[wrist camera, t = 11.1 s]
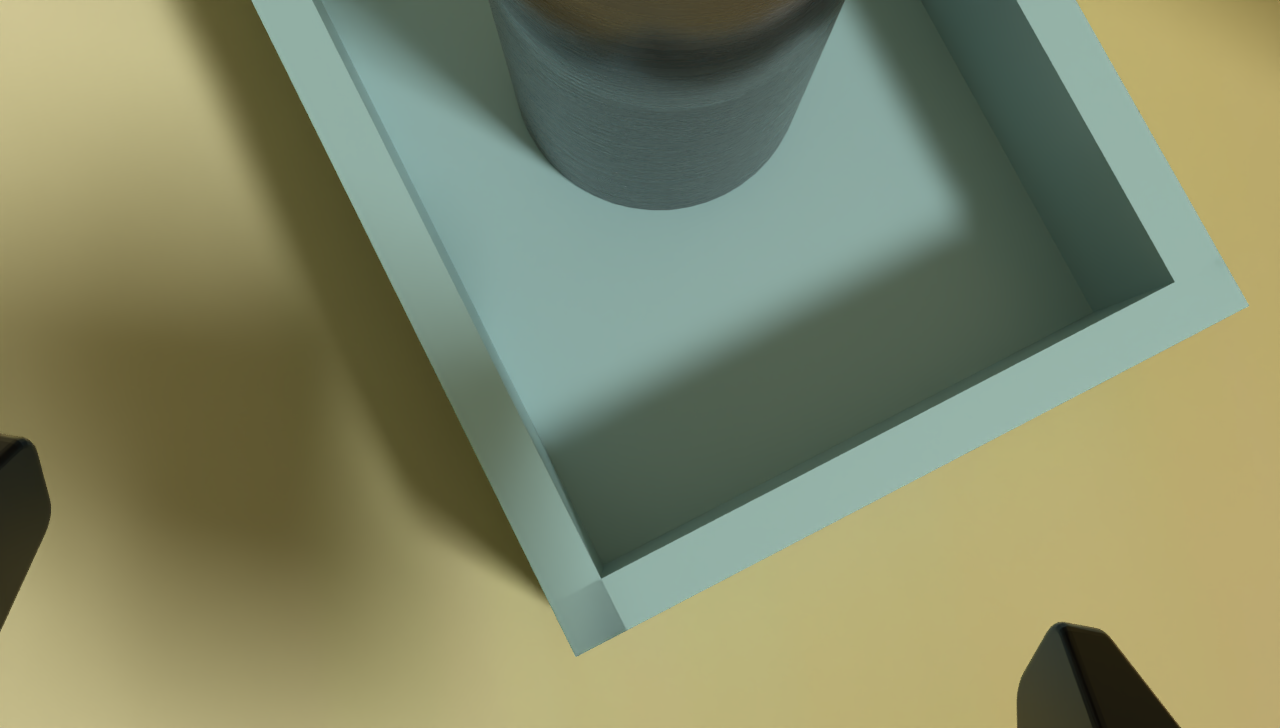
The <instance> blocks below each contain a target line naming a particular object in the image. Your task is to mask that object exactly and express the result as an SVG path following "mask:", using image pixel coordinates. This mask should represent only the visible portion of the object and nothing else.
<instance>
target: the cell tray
mask: <svg viewBox="0 0 1280 728" xmlns="http://www.w3.org/2000/svg"><path fill="white" fill-rule="evenodd" d="M251 1H252V3H253V5H254V7H255V9H256V11H257V13H258V15H259V17H260V19H261V21H262V23H263V25H264V27H265V29H266V31H267V33H268V35H269V37H270V39H271V41H272V43H273V45H274V47H275V49H276V51H277V53H278V55H279V57H280V59H281V61H282V63H283V65H284V67H285V69H286V71H287V73H288V75H289V77H290V79H291V81H292V84H293V86H294V88H295V90H296V92H297V94H298V96H299V98H300V100H301V102H302V104H303V106H304V108H305V110H306V112H307V114H308V116H309V118H310V120H311V122H312V124H313V126H314V128H315V130H316V132H317V134H318V136H319V138H320V140H321V142H322V144H323V146H324V148H325V150H326V152H327V154H328V156H329V158H330V160H331V162H332V164H333V167H334V169H335V171H336V173H337V175H338V177H339V179H340V181H341V183H342V185H343V187H344V189H345V191H346V193H347V195H348V197H349V199H350V201H351V203H352V205H353V207H354V209H355V211H356V213H357V215H358V217H359V219H360V221H361V223H362V225H363V227H364V229H365V231H366V233H367V235H368V237H369V239H370V241H371V243H372V245H373V247H374V249H375V252H376V254H377V256H378V258H379V260H380V262H381V264H382V266H383V268H384V270H385V272H386V274H387V276H388V278H389V280H390V282H391V284H392V286H393V288H394V290H395V292H396V294H397V296H398V298H399V300H400V302H401V304H402V306H403V308H404V310H405V312H406V314H407V316H408V318H409V320H410V322H411V324H412V326H413V328H414V330H415V332H416V334H417V337H418V339H419V341H420V343H421V345H422V347H423V349H424V351H425V353H426V355H427V357H428V359H429V361H430V363H431V365H432V367H433V369H434V371H435V373H436V375H437V377H438V379H439V381H440V383H441V385H442V387H443V389H444V391H445V393H446V395H447V397H448V399H449V401H450V403H451V405H452V407H453V409H454V411H455V413H456V415H457V417H458V420H459V422H460V424H461V426H462V428H463V430H464V432H465V434H466V436H467V438H468V440H469V442H470V444H471V446H472V448H473V450H474V452H475V454H476V456H477V458H478V460H479V462H480V464H481V466H482V468H483V470H484V472H485V474H486V476H487V478H488V480H489V482H490V484H491V486H492V488H493V490H494V492H495V494H496V496H497V498H498V500H499V502H500V505H501V507H502V509H503V511H504V513H505V515H506V517H507V519H508V521H509V523H510V525H511V527H512V529H513V531H514V533H515V535H516V537H517V539H518V541H519V543H520V545H521V547H522V549H523V551H524V553H525V555H526V557H527V559H528V561H529V563H530V565H531V567H532V569H533V571H534V573H535V575H536V577H537V579H538V581H539V583H540V585H541V587H542V590H543V592H544V594H545V596H546V598H547V600H548V602H549V604H550V606H551V608H552V610H553V612H554V614H555V616H556V618H557V620H558V622H559V624H560V626H561V628H562V630H563V632H564V634H565V636H566V638H567V640H568V642H569V644H570V646H571V648H572V650H573V652H574V654H575V656H576V657H577V656H579V655H580V654H582V653H584V652H586V651H588V650H590V649H592V648H594V647H596V646H598V645H600V644H602V643H603V642H605V641H607V640H609V639H611V638H613V637H615V636H617V635H619V634H621V633H623V632H625V631H626V630H628V629H630V628H632V627H634V626H636V625H638V624H640V623H642V622H644V621H646V620H648V619H649V618H651V617H653V616H655V615H657V614H659V613H661V612H663V611H665V610H667V609H669V608H671V607H672V606H674V605H676V604H678V603H680V602H682V601H684V600H686V599H688V598H690V597H692V596H694V595H696V594H697V593H699V592H701V591H703V590H705V589H707V588H709V587H711V586H713V585H715V584H717V583H719V582H720V581H722V580H724V579H726V578H728V577H730V576H732V575H734V574H736V573H738V572H740V571H742V570H743V569H745V568H747V567H749V566H751V565H753V564H755V563H757V562H759V561H761V560H763V559H765V558H766V557H768V556H770V555H772V554H774V553H776V552H778V551H780V550H782V549H784V548H786V547H788V546H789V545H791V544H793V543H795V542H797V541H799V540H801V539H803V538H805V537H807V536H809V535H811V534H813V533H814V532H816V531H818V530H820V529H822V528H824V527H826V526H828V525H830V524H832V523H834V522H836V521H837V520H839V519H841V518H843V517H845V516H847V515H849V514H851V513H853V512H855V511H857V510H859V509H860V508H862V507H864V506H866V505H868V504H870V503H872V502H874V501H876V500H878V499H880V498H882V497H883V496H885V495H887V494H889V493H891V492H893V491H895V490H897V489H899V488H901V487H903V486H905V485H906V484H908V483H910V482H912V481H914V480H916V479H918V478H920V477H922V476H924V475H926V474H928V473H929V472H931V471H933V470H935V469H937V468H939V467H941V466H943V465H945V464H947V463H949V462H951V461H953V460H954V459H956V458H958V457H960V456H962V455H964V454H966V453H968V452H970V451H972V450H974V449H976V448H977V447H979V446H981V445H983V444H985V443H987V442H989V441H991V440H993V439H995V438H997V437H999V436H1000V435H1002V434H1004V433H1006V432H1008V431H1010V430H1012V429H1014V428H1016V427H1018V426H1020V425H1022V424H1023V423H1025V422H1027V421H1029V420H1031V419H1033V418H1035V417H1037V416H1039V415H1041V414H1043V413H1045V412H1046V411H1048V410H1050V409H1052V408H1054V407H1056V406H1058V405H1060V404H1062V403H1064V402H1066V401H1068V400H1069V399H1071V398H1073V397H1075V396H1077V395H1079V394H1081V393H1083V392H1085V391H1087V390H1089V389H1091V388H1093V387H1094V386H1096V385H1098V384H1100V383H1102V382H1104V381H1106V380H1108V379H1110V378H1112V377H1114V376H1116V375H1117V374H1119V373H1121V372H1123V371H1125V370H1127V369H1129V368H1131V367H1133V366H1135V365H1137V364H1139V363H1140V362H1142V361H1144V360H1146V359H1148V358H1150V357H1152V356H1154V355H1156V354H1158V353H1160V352H1162V351H1163V350H1165V349H1167V348H1169V347H1171V346H1173V345H1175V344H1177V343H1179V342H1181V341H1183V340H1185V339H1186V338H1188V337H1190V336H1192V335H1194V334H1196V333H1198V332H1200V331H1202V330H1204V329H1206V328H1208V327H1209V326H1211V325H1213V324H1215V323H1217V322H1219V321H1221V320H1223V319H1225V318H1227V317H1229V316H1231V315H1233V314H1234V313H1236V312H1238V311H1240V310H1242V309H1244V308H1246V307H1248V306H1249V305H1248V303H1247V301H1246V299H1245V298H1244V296H1243V294H1242V292H1241V291H1240V289H1239V287H1238V285H1237V283H1236V282H1235V280H1234V278H1233V276H1232V275H1231V273H1230V271H1229V269H1228V268H1227V266H1226V264H1225V262H1224V261H1223V259H1222V257H1221V255H1220V254H1219V252H1218V250H1217V248H1216V246H1215V245H1214V243H1213V241H1212V239H1211V238H1210V236H1209V234H1208V232H1207V231H1206V229H1205V227H1204V225H1203V224H1202V222H1201V220H1200V218H1199V217H1198V215H1197V213H1196V211H1195V209H1194V208H1193V206H1192V204H1191V202H1190V201H1189V199H1188V197H1187V195H1186V194H1185V192H1184V190H1183V188H1182V187H1181V185H1180V183H1179V181H1178V180H1177V178H1176V176H1175V174H1174V172H1173V171H1172V169H1171V167H1170V165H1169V164H1168V162H1167V160H1166V158H1165V157H1164V155H1163V153H1162V151H1161V150H1160V148H1159V146H1158V144H1157V143H1156V141H1155V139H1154V137H1153V135H1152V134H1151V132H1150V130H1149V128H1148V127H1147V125H1146V123H1145V121H1144V120H1143V118H1142V116H1141V114H1140V113H1139V111H1138V109H1137V107H1136V106H1135V104H1134V102H1133V100H1132V99H1131V97H1130V95H1129V93H1128V91H1127V90H1126V88H1125V86H1124V84H1123V83H1122V81H1121V79H1120V77H1119V76H1118V74H1117V72H1116V70H1115V69H1114V67H1113V65H1112V63H1111V62H1110V60H1109V58H1108V56H1107V54H1106V53H1105V51H1104V49H1103V47H1102V46H1101V44H1100V42H1099V40H1098V39H1097V37H1096V35H1095V33H1094V32H1093V30H1092V28H1091V26H1090V25H1089V23H1088V21H1087V19H1086V17H1085V16H1084V14H1083V12H1082V10H1081V9H1080V7H1079V5H1078V3H1077V2H1076V0H845V2H844V4H843V6H842V8H841V11H840V13H839V15H838V18H837V20H836V22H835V24H834V27H833V29H832V31H831V33H830V36H829V38H828V40H827V43H826V45H825V47H824V49H823V52H822V54H821V56H820V59H819V61H818V63H817V65H816V68H815V70H814V72H813V74H812V77H811V79H810V81H809V84H808V86H807V88H806V90H805V93H804V95H803V97H802V99H801V102H800V104H799V106H798V109H797V111H796V113H795V115H794V118H793V120H792V122H791V125H790V127H789V129H788V131H787V133H786V135H785V136H784V138H783V140H782V142H781V144H780V145H779V147H778V148H777V150H776V151H775V152H774V154H773V155H772V156H771V158H770V159H769V160H768V161H767V162H766V163H765V164H764V165H763V166H762V167H761V168H760V169H759V170H758V172H757V173H756V174H754V175H753V176H752V177H751V178H749V179H748V180H747V181H745V182H744V183H743V184H742V185H740V186H739V187H737V188H735V189H733V190H732V191H730V192H728V193H727V194H725V195H723V196H720V197H718V198H716V199H713V200H711V201H709V202H706V203H702V204H699V205H695V206H692V207H687V208H680V209H673V210H644V209H635V208H629V207H625V206H621V205H617V204H613V203H611V202H608V201H605V200H603V199H600V198H598V197H595V196H593V195H592V194H590V193H588V192H586V191H584V190H583V189H581V188H579V187H578V186H576V185H575V184H573V183H572V182H571V181H569V180H568V179H567V178H565V177H564V176H563V175H562V174H561V173H560V172H559V171H558V170H556V169H555V168H554V167H553V166H552V165H551V164H550V163H549V161H548V160H547V159H546V158H545V156H544V155H543V154H542V153H541V151H540V150H539V149H538V147H537V146H536V144H535V142H534V141H533V139H532V137H531V136H530V134H529V132H528V130H527V127H526V125H525V123H524V121H523V118H522V116H521V112H520V109H519V105H518V102H517V98H516V95H515V91H514V88H513V84H512V81H511V77H510V74H509V70H508V67H507V64H506V60H505V57H504V53H503V50H502V46H501V43H500V39H499V36H498V32H497V29H496V25H495V22H494V18H493V15H492V11H491V8H490V4H489V1H488V0H251Z"/></svg>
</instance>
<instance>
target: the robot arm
mask: <svg viewBox="0 0 1280 728" xmlns="http://www.w3.org/2000/svg"><path fill="white" fill-rule="evenodd" d="M50 515H51V503H50V498H49V494H48V490H47V487H46V483H45V479H44V475H43V472H42V468H41V464H40V460H39V457H38V453H37V450H36V447H35V446H34V445H33V444H32V442H31V441H30V440H28V439H26V438H23V437H18V436H12V435H6V434H1V433H0V631H1V629H2V627H3V625H4V622H5V620H6V618H7V616H8V614H9V611H10V609H11V607H12V605H13V603H14V601H15V598H16V596H17V594H18V592H19V590H20V587H21V585H22V583H23V581H24V579H25V577H26V574H27V572H28V570H29V568H30V566H31V563H32V561H33V559H34V557H35V555H36V553H37V550H38V548H39V546H40V544H41V542H42V539H43V537H44V535H45V533H46V530H47V528H48V524H49V521H50ZM1017 728H1181V727H1180V726H1179V725H1178V724H1177V722H1176V721H1175V720H1174V718H1173V717H1172V716H1171V715H1170V713H1169V712H1168V711H1167V709H1166V708H1165V707H1164V706H1163V704H1162V703H1161V702H1160V700H1159V699H1158V698H1157V697H1156V695H1155V694H1154V693H1153V691H1152V690H1151V689H1150V688H1149V686H1148V685H1147V684H1146V683H1145V681H1144V680H1143V679H1142V677H1141V676H1140V675H1139V674H1138V672H1137V671H1136V670H1135V668H1134V667H1133V666H1132V665H1131V663H1130V662H1129V661H1128V659H1127V658H1126V657H1125V656H1124V654H1123V653H1122V652H1121V650H1120V649H1119V648H1118V647H1117V645H1116V644H1115V643H1114V641H1113V640H1112V639H1111V638H1110V637H1109V636H1108V635H1107V634H1106V633H1105V632H1104V631H1102V630H1100V629H1097V628H1094V627H1088V626H1082V625H1077V624H1071V623H1066V622H1058V623H1056V624H1054V625H1053V626H1051V627H1050V629H1049V630H1048V631H1047V633H1046V635H1045V636H1044V638H1043V640H1042V642H1041V643H1040V645H1039V647H1038V649H1037V650H1036V652H1035V654H1034V655H1033V657H1032V659H1031V661H1030V662H1029V664H1028V666H1027V668H1026V669H1025V671H1024V673H1023V675H1022V677H1021V680H1020V683H1019V687H1018V692H1017Z"/></svg>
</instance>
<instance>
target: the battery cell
mask: <svg viewBox="0 0 1280 728" xmlns="http://www.w3.org/2000/svg"><path fill="white" fill-rule="evenodd" d="M488 1H489V4H490V8H491V11H492V15H493V18H494V22H495V25H496V29H497V32H498V36H499V39H500V43H501V46H502V50H503V53H504V57H505V60H506V64H507V67H508V70H509V74H510V77H511V81H512V84H513V88H514V91H515V95H516V98H517V102H518V105H519V109H520V112H521V116H522V118H523V121H524V123H525V125H526V127H527V130H528V132H529V134H530V136H531V137H532V139H533V141H534V142H535V144H536V146H537V147H538V149H539V150H540V151H541V153H542V154H543V155H544V156H545V158H546V159H547V160H548V161H549V163H550V164H551V165H552V166H553V167H554V168H555V169H556V170H558V171H559V172H560V173H561V174H562V175H563V176H564V177H565V178H567V179H568V180H569V181H571V182H572V183H573V184H575V185H576V186H578V187H579V188H581V189H583V190H584V191H586V192H588V193H590V194H592V195H593V196H595V197H598V198H600V199H603V200H605V201H608V202H611V203H613V204H617V205H621V206H625V207H629V208H635V209H644V210H673V209H680V208H687V207H692V206H695V205H699V204H702V203H706V202H709V201H711V200H713V199H716V198H718V197H720V196H723V195H725V194H727V193H728V192H730V191H732V190H733V189H735V188H737V187H739V186H740V185H742V184H743V183H744V182H745V181H747V180H748V179H749V178H751V177H752V176H753V175H754V174H756V173H757V172H758V170H759V169H760V168H761V167H762V166H763V165H764V164H765V163H766V162H767V161H768V160H769V159H770V158H771V156H772V155H773V154H774V152H775V151H776V150H777V148H778V147H779V145H780V144H781V142H782V140H783V138H784V136H785V135H786V133H787V131H788V129H789V127H790V125H791V122H792V120H793V118H794V115H795V113H796V111H797V109H798V106H799V104H800V102H801V99H802V97H803V95H804V93H805V90H806V88H807V86H808V84H809V81H810V79H811V77H812V74H813V72H814V70H815V68H816V65H817V63H818V61H819V59H820V56H821V54H822V52H823V49H824V47H825V45H826V43H827V40H828V38H829V36H830V33H831V31H832V29H833V27H834V24H835V22H836V20H837V18H838V15H839V13H840V11H841V8H842V6H843V4H844V2H845V0H488Z"/></svg>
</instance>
